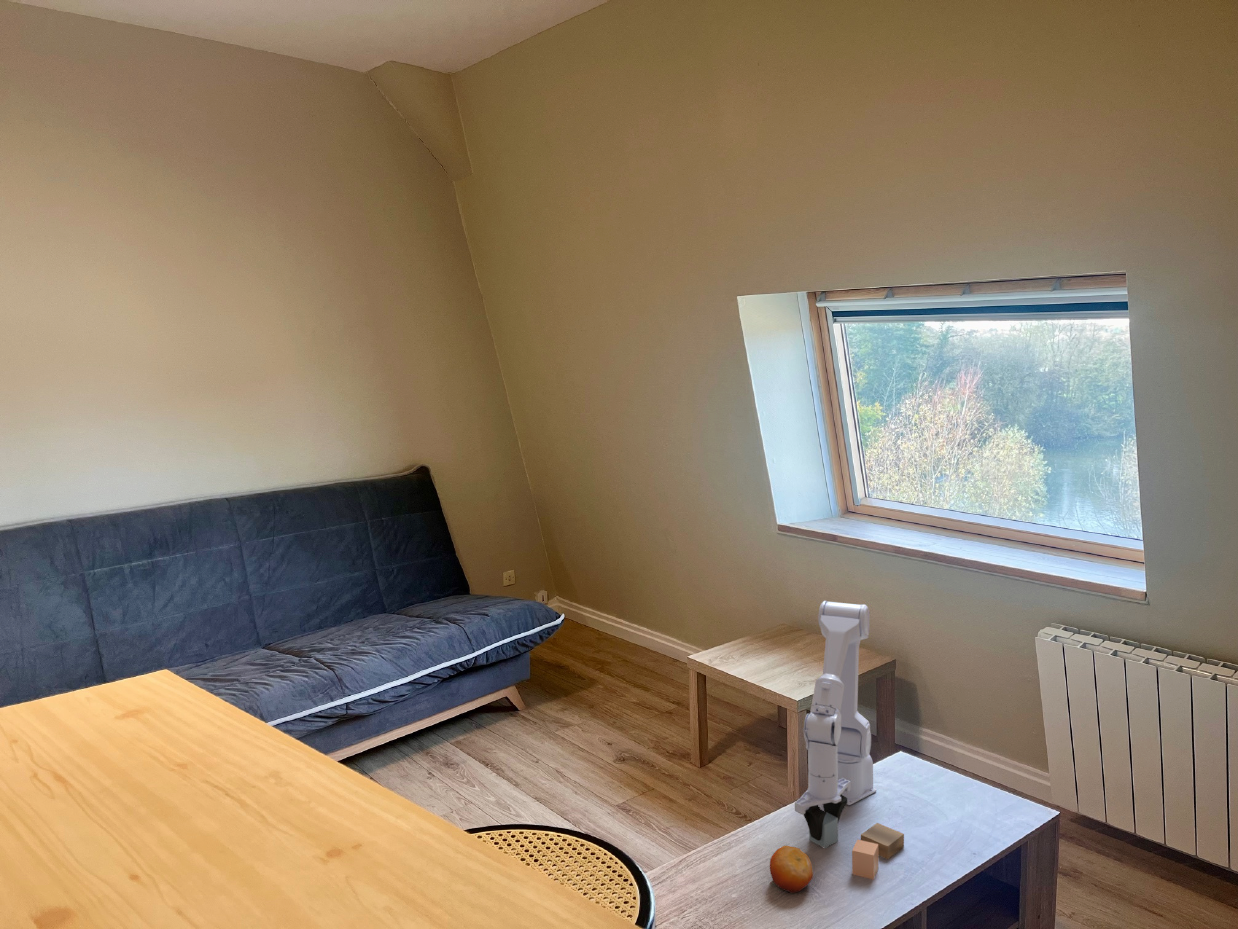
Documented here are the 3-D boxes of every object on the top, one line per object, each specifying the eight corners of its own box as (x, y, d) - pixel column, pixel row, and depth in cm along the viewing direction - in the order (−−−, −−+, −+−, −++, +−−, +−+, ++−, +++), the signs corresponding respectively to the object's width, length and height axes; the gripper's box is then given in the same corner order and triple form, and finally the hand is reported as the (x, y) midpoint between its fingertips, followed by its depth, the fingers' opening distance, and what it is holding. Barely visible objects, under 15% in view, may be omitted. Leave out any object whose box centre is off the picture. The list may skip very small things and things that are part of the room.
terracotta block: (857, 863, 177) (857, 839, 176) (878, 868, 175) (878, 844, 174) (852, 874, 173) (852, 850, 173) (873, 880, 172) (873, 855, 171)
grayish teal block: (822, 832, 188) (822, 810, 187) (837, 841, 185) (837, 818, 184) (809, 840, 185) (809, 817, 185) (824, 848, 182) (824, 825, 181)
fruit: (774, 857, 177) (792, 832, 174) (806, 889, 174) (825, 864, 170) (752, 878, 171) (770, 851, 168) (784, 911, 168) (804, 885, 164)
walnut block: (877, 836, 186) (877, 822, 186) (903, 848, 182) (904, 834, 181) (860, 848, 182) (860, 834, 182) (887, 860, 178) (887, 846, 177)
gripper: (813, 790, 175) (814, 856, 177) (862, 766, 184) (862, 829, 186) (786, 777, 181) (787, 840, 183) (835, 754, 189) (835, 815, 191)
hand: (823, 834), depth 185 cm, fingers closed on grayish teal block, 4 cm apart
